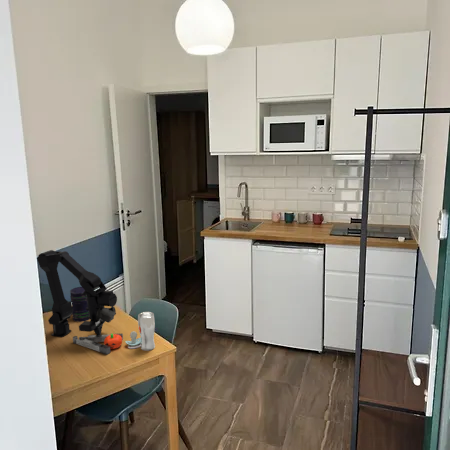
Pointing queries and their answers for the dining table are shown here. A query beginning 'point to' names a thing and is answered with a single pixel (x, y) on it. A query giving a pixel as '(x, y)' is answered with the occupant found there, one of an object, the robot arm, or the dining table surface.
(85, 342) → the tong base
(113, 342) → the pumpkin
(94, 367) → the dining table surface
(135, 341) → the pacifier
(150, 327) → the silver drink can
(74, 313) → the storage jar
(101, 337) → the tong leg
